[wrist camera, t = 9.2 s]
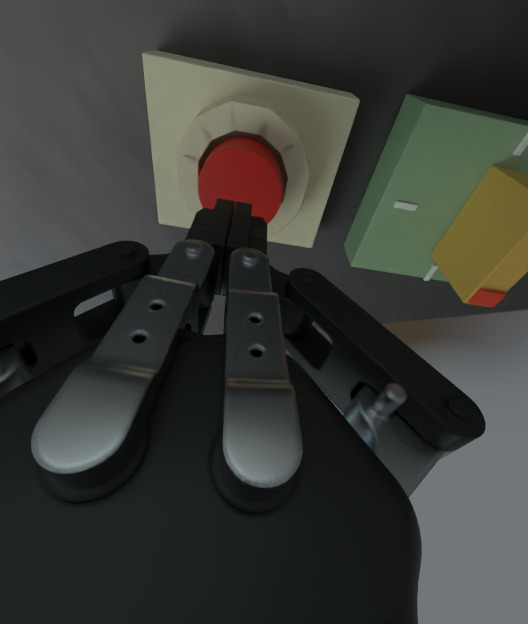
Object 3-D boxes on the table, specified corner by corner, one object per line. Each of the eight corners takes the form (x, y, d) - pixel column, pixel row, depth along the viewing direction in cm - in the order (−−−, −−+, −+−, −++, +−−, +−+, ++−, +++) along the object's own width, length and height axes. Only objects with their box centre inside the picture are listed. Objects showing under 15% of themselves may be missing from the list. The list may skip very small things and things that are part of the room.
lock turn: (491, 165, 16) (558, 206, 12) (520, 171, 16) (594, 214, 12) (429, 254, 20) (465, 306, 16) (453, 258, 20) (493, 310, 17)
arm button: (289, 144, 15) (290, 157, 14) (273, 221, 18) (273, 238, 17) (205, 128, 15) (197, 139, 13) (203, 209, 18) (197, 226, 16)
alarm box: (352, 93, 16) (369, 106, 14) (309, 233, 23) (314, 262, 20) (154, 49, 15) (127, 54, 12) (166, 209, 22) (150, 237, 19)
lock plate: (592, 132, 17) (639, 148, 15) (477, 267, 25) (497, 291, 22) (407, 91, 16) (428, 101, 14) (342, 245, 23) (350, 269, 21)
